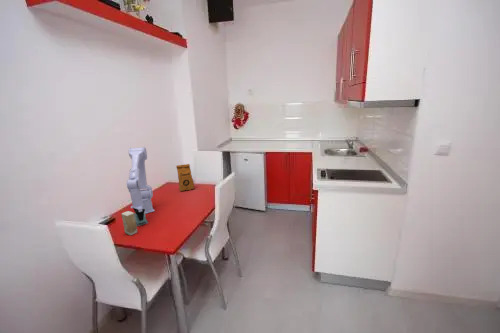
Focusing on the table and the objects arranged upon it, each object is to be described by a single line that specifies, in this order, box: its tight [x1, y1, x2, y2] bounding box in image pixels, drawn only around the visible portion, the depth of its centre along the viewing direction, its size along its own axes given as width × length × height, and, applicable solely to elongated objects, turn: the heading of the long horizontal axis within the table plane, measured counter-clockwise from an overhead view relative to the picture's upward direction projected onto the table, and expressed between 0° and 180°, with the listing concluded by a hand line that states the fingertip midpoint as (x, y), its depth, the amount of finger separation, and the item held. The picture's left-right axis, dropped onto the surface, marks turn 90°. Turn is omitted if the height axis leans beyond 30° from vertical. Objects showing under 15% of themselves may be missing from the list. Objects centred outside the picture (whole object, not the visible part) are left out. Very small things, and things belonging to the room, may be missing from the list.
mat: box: [136, 219, 149, 227], centre depth 150 cm, size 7×7×1 cm
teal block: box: [134, 212, 147, 224], centre depth 149 cm, size 5×5×5 cm
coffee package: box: [175, 163, 195, 192], centre depth 203 cm, size 10×12×22 cm
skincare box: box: [121, 210, 138, 236], centre depth 137 cm, size 6×4×12 cm
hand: (140, 218), depth 149 cm, fingers closed on teal block, 5 cm apart
